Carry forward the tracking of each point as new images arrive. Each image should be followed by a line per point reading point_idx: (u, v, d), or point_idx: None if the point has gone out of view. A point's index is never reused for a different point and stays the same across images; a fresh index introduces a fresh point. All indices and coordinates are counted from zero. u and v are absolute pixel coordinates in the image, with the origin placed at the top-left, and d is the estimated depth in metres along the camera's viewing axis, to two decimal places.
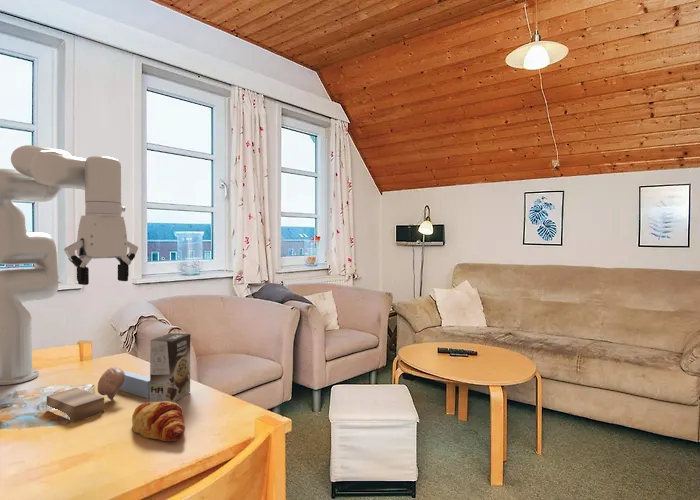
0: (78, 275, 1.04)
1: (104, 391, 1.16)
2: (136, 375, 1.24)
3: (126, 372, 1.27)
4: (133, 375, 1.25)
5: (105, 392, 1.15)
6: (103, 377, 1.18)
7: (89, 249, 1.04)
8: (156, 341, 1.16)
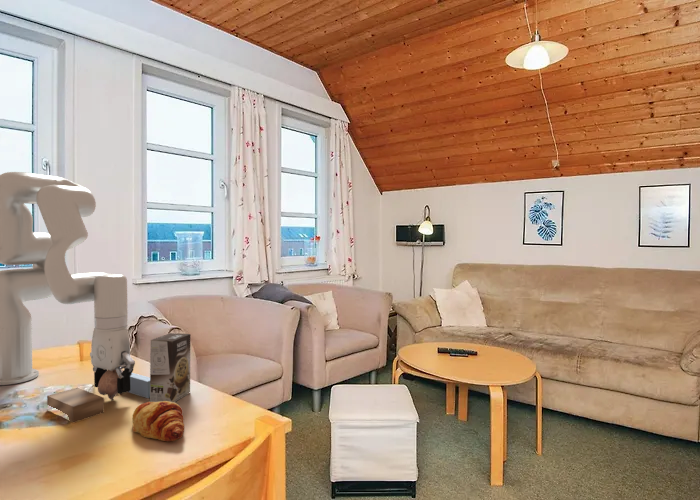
0: (125, 384, 1.15)
1: (105, 390, 1.16)
2: (136, 375, 1.24)
3: None
4: (133, 375, 1.25)
5: (106, 391, 1.16)
6: (104, 377, 1.18)
7: None
8: (156, 341, 1.16)
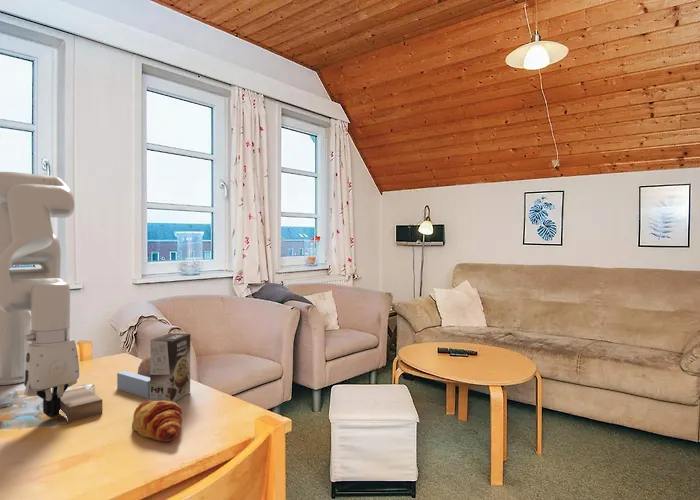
0: None
1: (145, 375, 1.29)
2: (136, 375, 1.24)
3: (126, 372, 1.27)
4: (133, 375, 1.25)
5: (146, 376, 1.28)
6: (143, 363, 1.31)
7: None
8: (156, 341, 1.16)
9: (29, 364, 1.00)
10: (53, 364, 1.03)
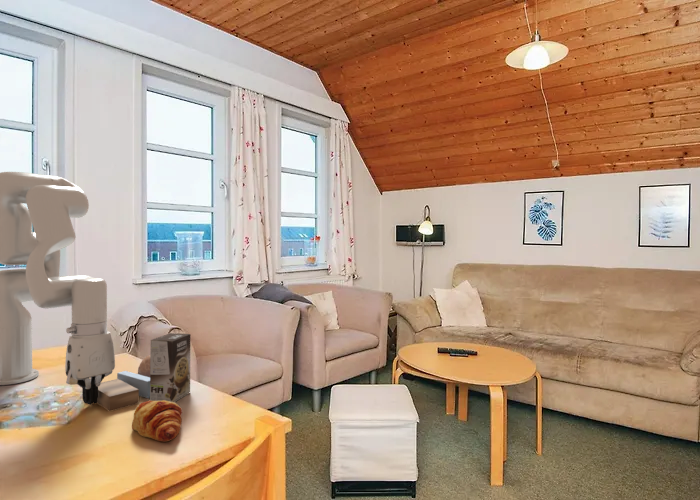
0: None
1: (145, 375, 1.29)
2: (136, 375, 1.24)
3: (126, 372, 1.27)
4: (133, 375, 1.25)
5: (146, 376, 1.28)
6: (143, 363, 1.31)
7: None
8: (156, 341, 1.16)
9: (71, 355, 1.08)
10: (92, 355, 1.11)
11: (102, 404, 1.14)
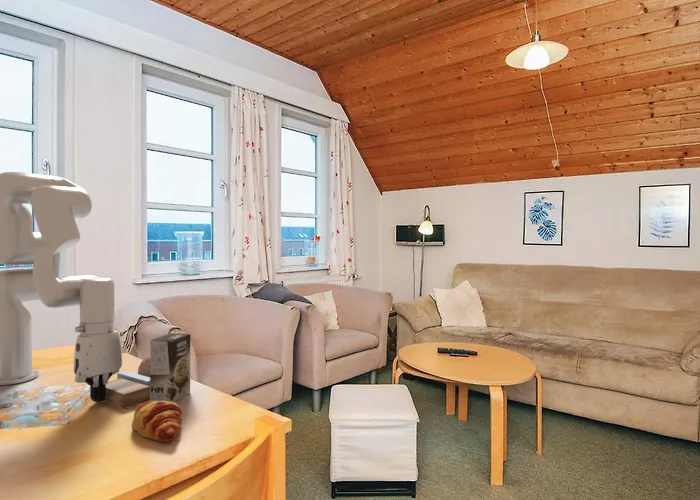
0: None
1: (145, 375, 1.29)
2: (136, 375, 1.24)
3: (126, 372, 1.27)
4: (133, 375, 1.25)
5: (146, 376, 1.28)
6: (143, 363, 1.31)
7: None
8: (156, 341, 1.16)
9: (79, 353, 1.10)
10: (100, 353, 1.12)
11: (114, 402, 1.15)
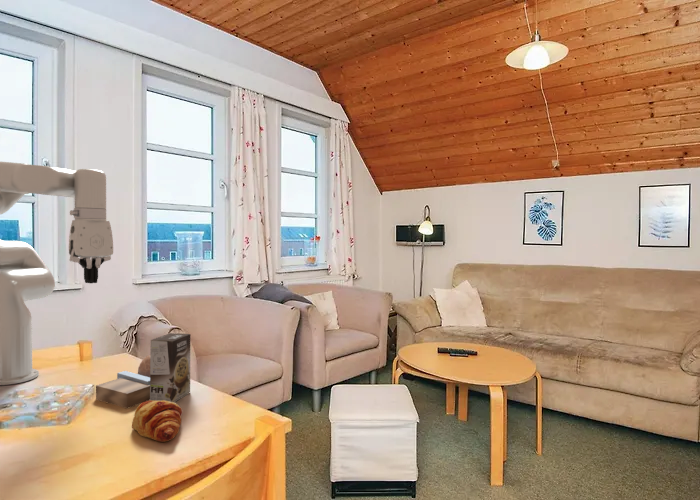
0: None
1: (145, 375, 1.29)
2: (136, 375, 1.24)
3: (126, 372, 1.27)
4: (133, 375, 1.25)
5: (146, 376, 1.28)
6: (143, 363, 1.31)
7: None
8: (156, 341, 1.16)
9: (74, 234, 1.20)
10: (93, 237, 1.23)
11: (115, 402, 1.15)
